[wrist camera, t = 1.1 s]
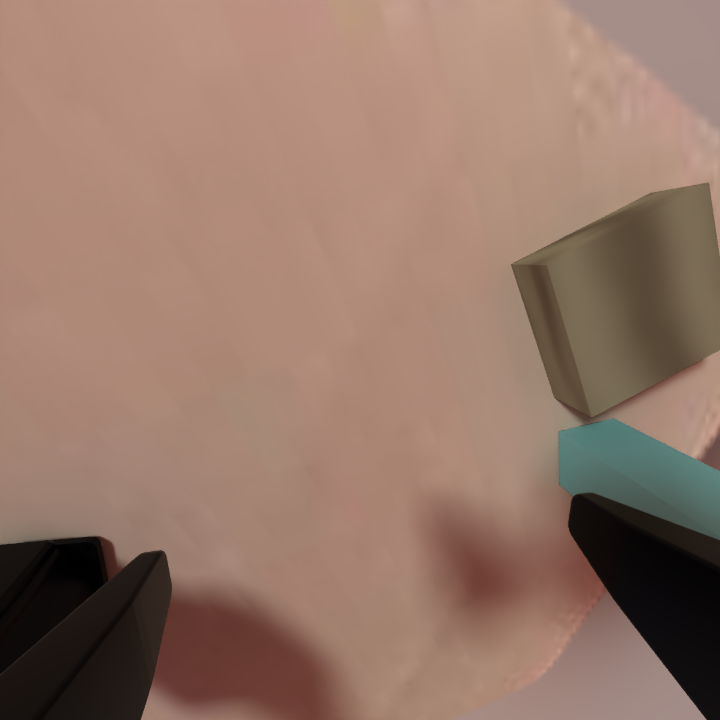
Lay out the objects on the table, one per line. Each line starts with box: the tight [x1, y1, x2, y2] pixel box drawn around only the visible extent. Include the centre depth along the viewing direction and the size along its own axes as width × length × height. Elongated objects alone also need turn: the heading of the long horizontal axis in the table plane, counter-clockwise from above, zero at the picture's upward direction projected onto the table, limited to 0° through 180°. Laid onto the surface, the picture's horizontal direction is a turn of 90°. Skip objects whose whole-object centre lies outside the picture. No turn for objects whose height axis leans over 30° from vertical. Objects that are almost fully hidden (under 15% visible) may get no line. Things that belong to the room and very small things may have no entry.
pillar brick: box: [559, 419, 720, 540], centre depth 21 cm, size 4×4×10 cm
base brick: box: [511, 183, 720, 418], centre depth 21 cm, size 9×9×4 cm
